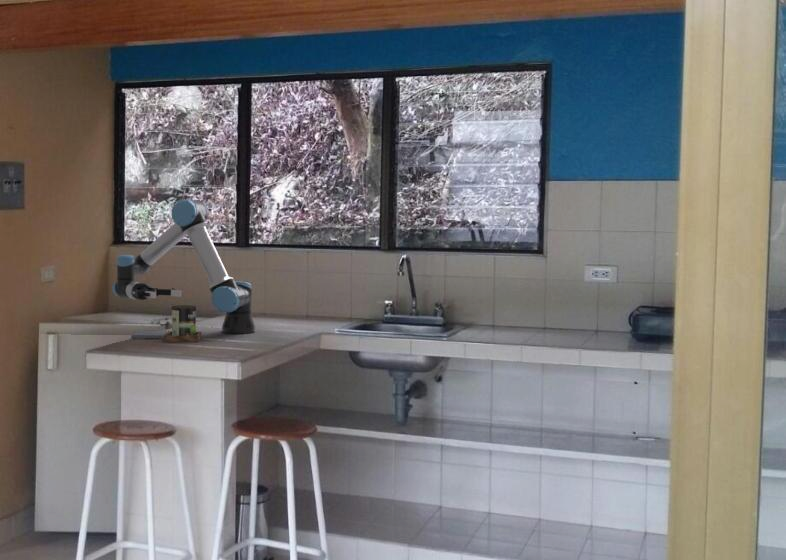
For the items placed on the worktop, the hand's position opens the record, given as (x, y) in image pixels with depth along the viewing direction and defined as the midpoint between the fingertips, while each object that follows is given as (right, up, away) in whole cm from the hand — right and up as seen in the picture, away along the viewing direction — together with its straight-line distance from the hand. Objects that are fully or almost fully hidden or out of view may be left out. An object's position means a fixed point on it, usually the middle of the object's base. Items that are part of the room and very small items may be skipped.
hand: (168, 294), depth 397 cm
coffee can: (+8, -19, -5) cm, 21 cm away
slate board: (-9, -18, +2) cm, 21 cm away
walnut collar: (+7, -19, -5) cm, 21 cm away
